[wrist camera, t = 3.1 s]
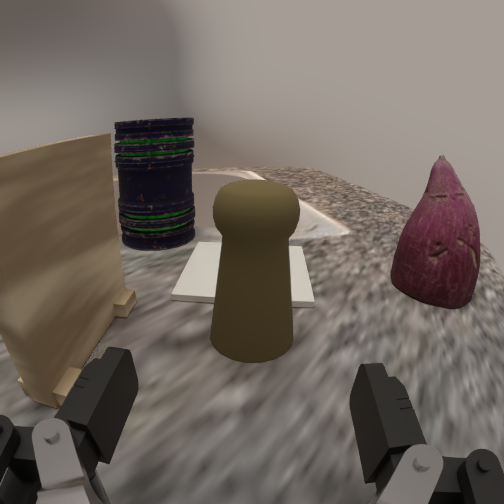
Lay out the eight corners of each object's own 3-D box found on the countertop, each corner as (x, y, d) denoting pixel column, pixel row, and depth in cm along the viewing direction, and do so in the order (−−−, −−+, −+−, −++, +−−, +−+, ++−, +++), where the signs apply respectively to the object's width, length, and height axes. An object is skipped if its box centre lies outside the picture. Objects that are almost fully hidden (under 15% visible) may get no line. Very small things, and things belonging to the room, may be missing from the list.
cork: (207, 314, 25) (203, 174, 21) (281, 309, 26) (291, 173, 22) (214, 366, 20) (208, 194, 15) (304, 356, 21) (325, 193, 17)
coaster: (171, 300, 27) (171, 294, 27) (198, 246, 38) (198, 241, 38) (313, 307, 27) (314, 301, 26) (301, 251, 38) (301, 246, 37)
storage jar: (177, 255, 36) (173, 118, 30) (106, 246, 37) (97, 124, 31) (206, 227, 45) (205, 117, 39) (144, 221, 46) (140, 120, 40)
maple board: (22, 396, 15) (-52, 170, 9) (98, 296, 27) (78, 137, 21) (70, 413, 15) (-5, 160, 9) (137, 300, 27) (122, 132, 21)
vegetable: (377, 288, 36) (370, 160, 34) (449, 279, 35) (445, 160, 33) (410, 318, 26) (404, 145, 24) (495, 303, 25) (494, 150, 23)
